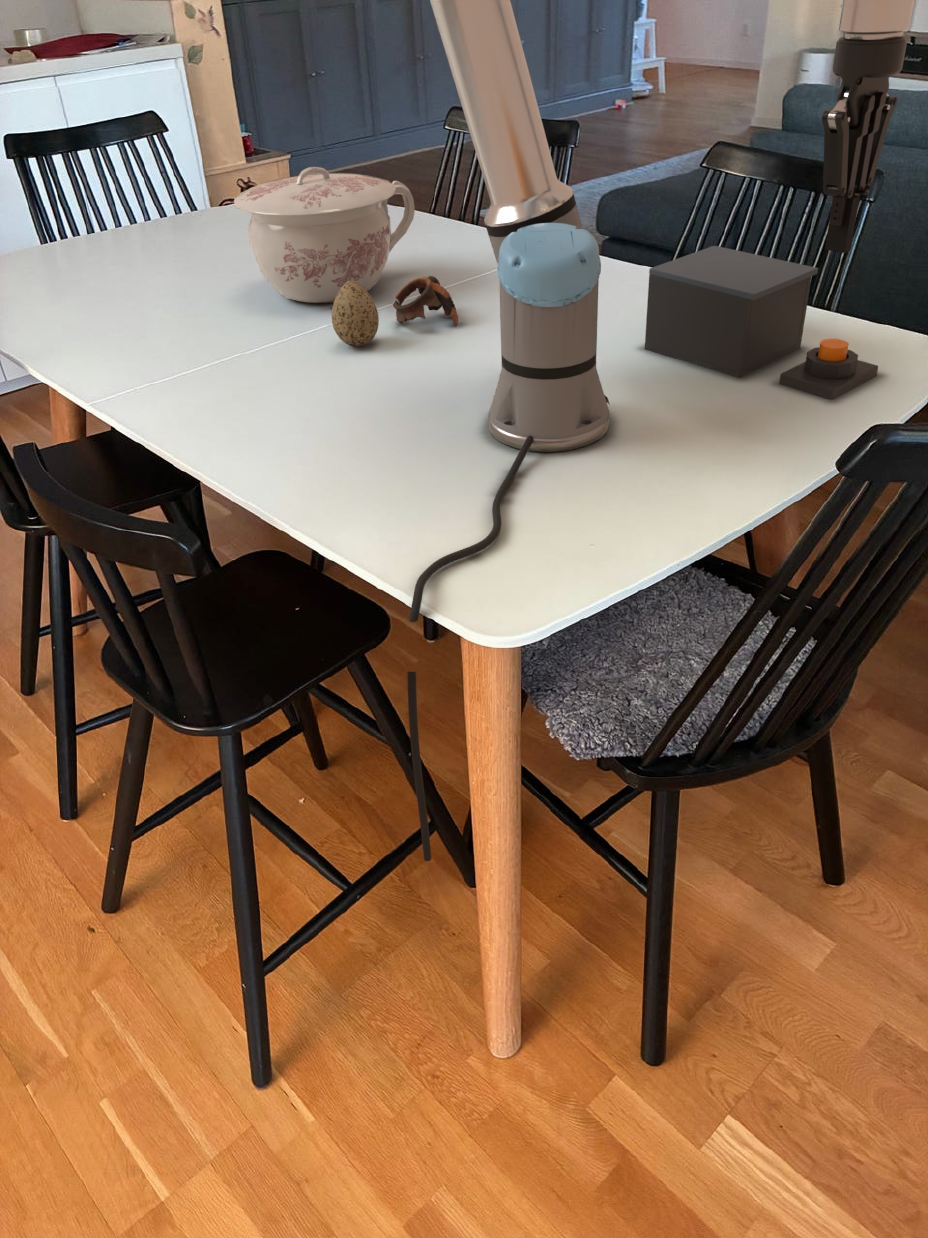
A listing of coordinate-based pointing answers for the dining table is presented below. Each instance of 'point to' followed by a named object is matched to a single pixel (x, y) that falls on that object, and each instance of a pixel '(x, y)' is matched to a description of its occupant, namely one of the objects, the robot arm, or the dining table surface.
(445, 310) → the brown curved piece
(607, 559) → the dining table surface
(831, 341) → the button
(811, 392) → the control block
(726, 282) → the dark grey box lid
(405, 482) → the dining table surface
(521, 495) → the dining table surface
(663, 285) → the dark grey box
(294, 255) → the chamber pot
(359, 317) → the decorative egg
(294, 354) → the dining table surface
